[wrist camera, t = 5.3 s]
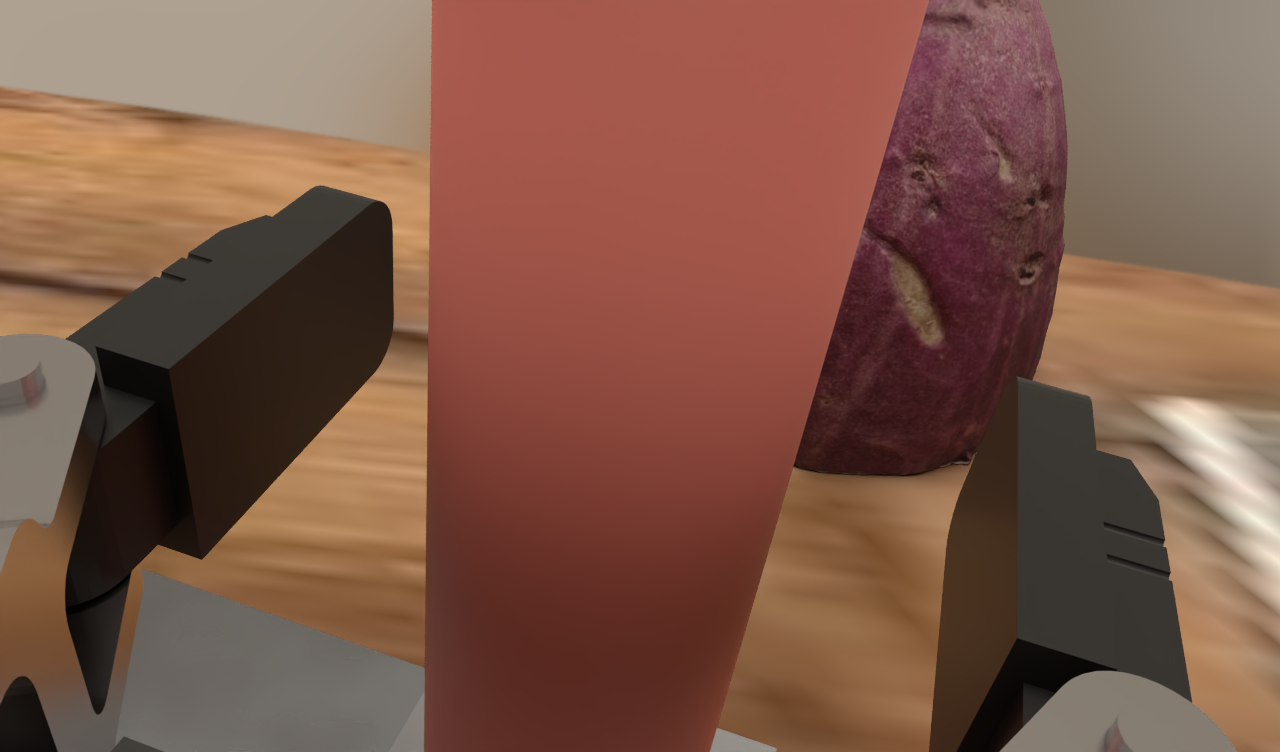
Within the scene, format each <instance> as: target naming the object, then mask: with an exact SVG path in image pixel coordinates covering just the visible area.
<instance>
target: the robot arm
mask: <svg viewBox="0 0 1280 752" xmlns="http://www.w3.org/2000/svg"><path fill="white" fill-rule="evenodd" d="M393 321H394V306H393V231H392V218H391V213H390V210H389V208H388V207H387V205H386V204H385V203H383V202H381V201H377V200H374V199H370V198H366V197H363V196H359V195H355V194H352V193H348V192H344V191H341V190H337V189H333V188H330V187H326V186H316V187H314V188H312V189H310V190H309V191H307V192H306V193H305V194H303V195H302V196H301V197H299V198H298V199H296V200H295V201H294V202H292V203H291V204H290V205H288V206H287V207H285V208H284V209H283V210H281V211H280V212H279V213H277V214H276V215H274V216H273V217H271V216H267V215H265V216H262V217H259V218H256V219H253V220H250V221H247V222H244V223H241V224H238V225H235V226H232V227H230V228H227V229H224V230H221V231H219V232H218V233H217V234H215V235H214V236H212V237H211V238H209V239H208V240H207V241H205V242H204V243H202V244H201V245H199V246H198V247H197V248H195V249H194V250H192V251H191V252H189V255H188V258H187V259H185V258H181V259H179V260H178V261H176V262H175V263H174V264H172V265H171V266H169V267H168V268H166V269H165V270H164V271H162V275H161V277H160V278H158V277H154V278H152V279H151V280H149V281H148V282H146V283H145V284H143V285H142V286H141V287H139V288H138V289H136V290H135V291H133V292H132V293H131V294H129V295H128V296H126V297H125V298H123V299H122V300H121V301H119V302H118V303H116V304H115V305H113V306H112V307H111V308H109V309H108V310H106V311H105V312H103V313H102V314H101V315H99V316H98V317H96V318H95V319H93V320H92V321H90V322H89V323H88V324H86V325H85V326H83V327H82V328H80V329H79V330H78V331H76V332H75V333H73V334H72V335H70V336H69V337H68V338H66V339H63V338H58V337H54V336H48V335H39V334H18V335H7V336H0V752H164V751H161V750H158V749H156V748H153V747H151V746H148V745H145V744H143V743H140V742H137V741H135V740H132V739H130V738H127V737H123V738H122V739H121V740H120V741H119V743H118V744H117V745H116V746H115V743H116V735H117V729H118V724H119V718H120V713H121V707H122V702H123V696H124V691H125V685H126V680H127V674H128V669H129V663H130V658H131V652H132V647H133V641H134V636H135V630H136V625H137V619H138V614H139V608H140V603H141V597H142V592H143V576H142V571H141V567H140V562H141V561H142V560H143V559H144V558H145V557H146V556H147V555H148V554H149V553H150V552H151V551H152V550H153V549H154V548H155V547H156V546H157V545H161V546H164V547H167V548H169V549H172V550H175V551H178V552H181V553H184V554H187V555H190V556H193V557H195V558H198V559H201V560H202V559H203V558H204V557H205V556H206V555H207V554H208V553H209V552H210V550H211V549H212V548H213V547H214V546H215V545H216V544H217V543H218V542H219V541H220V540H221V539H222V537H223V536H224V535H225V534H226V533H227V532H228V531H229V530H230V529H231V528H232V527H233V526H234V524H235V523H236V522H237V521H238V520H239V519H240V518H241V517H242V516H243V515H244V514H245V512H246V511H247V510H248V509H249V508H250V507H251V506H252V505H253V504H254V503H255V502H256V501H257V499H258V498H259V497H260V496H261V495H262V494H263V493H264V492H265V491H266V490H267V489H268V488H269V486H270V485H271V484H272V483H273V482H274V481H275V480H276V479H277V478H278V477H279V476H280V475H281V473H282V472H283V471H284V470H285V469H286V468H287V467H288V466H289V465H290V464H291V463H292V462H293V460H294V459H295V458H296V457H297V456H298V455H299V454H300V453H301V452H302V451H303V450H304V449H305V447H306V446H307V445H308V444H309V443H310V442H311V441H312V440H313V439H314V438H315V437H316V436H317V434H318V433H319V432H320V431H321V430H322V429H323V428H324V427H325V426H326V425H327V424H328V423H329V421H330V420H331V419H332V418H333V417H334V416H335V415H336V414H337V413H338V412H339V411H340V410H341V408H342V407H343V406H344V405H345V404H346V403H347V402H348V401H349V400H350V399H351V398H352V397H353V395H354V394H355V393H356V392H357V391H358V390H359V389H360V388H361V387H362V386H363V385H364V384H365V382H366V381H367V380H368V379H369V378H370V377H371V376H372V375H373V374H374V373H375V371H376V370H377V369H378V367H379V366H380V364H381V362H382V360H383V359H384V356H385V354H386V352H387V349H388V346H389V343H390V340H391V336H392V331H393ZM1164 541H1165V536H1164V530H1163V524H1162V518H1161V512H1160V506H1159V500H1158V499H1157V497H1156V496H1155V494H1154V493H1153V491H1152V490H1151V489H1150V487H1149V486H1148V484H1147V483H1146V481H1145V480H1144V478H1143V477H1142V475H1141V474H1140V473H1139V471H1138V470H1137V468H1136V467H1135V465H1134V464H1133V462H1132V461H1131V460H1130V459H1126V458H1123V457H1119V456H1115V455H1112V454H1108V453H1105V452H1101V451H1098V450H1096V440H1095V430H1094V419H1093V409H1092V402H1091V399H1090V397H1089V396H1086V395H1082V394H1079V393H1075V392H1071V391H1068V390H1064V389H1060V388H1057V387H1053V386H1050V385H1046V384H1042V383H1039V382H1035V381H1031V380H1028V379H1024V378H1020V377H1017V376H1014V377H1012V378H1011V380H1010V381H1009V382H1008V384H1007V386H1006V388H1005V389H1004V391H1003V394H1002V396H1001V398H1000V400H999V403H998V405H997V407H996V410H995V412H994V414H993V417H992V419H991V421H990V424H989V426H988V428H987V431H986V433H985V435H984V438H983V440H982V442H981V445H980V447H979V449H978V452H977V454H976V456H975V459H974V461H973V463H972V466H971V468H970V470H969V473H968V475H967V477H966V480H965V482H964V484H963V487H962V489H961V492H960V495H959V497H958V500H957V503H956V506H955V510H954V513H953V517H952V521H951V525H950V529H949V534H948V540H947V547H946V558H945V570H944V582H943V593H942V605H941V617H940V629H939V640H938V652H937V664H936V676H935V688H934V699H933V711H932V723H931V735H930V746H929V752H1237V751H1236V749H1235V748H1234V746H1233V745H1232V743H1231V741H1230V740H1229V739H1228V738H1227V736H1226V735H1225V734H1224V733H1223V732H1222V730H1221V729H1220V728H1219V727H1218V726H1217V725H1216V724H1215V723H1214V722H1213V721H1212V720H1211V719H1210V718H1209V717H1208V716H1207V715H1206V714H1205V713H1204V712H1202V711H1201V710H1200V709H1199V708H1197V707H1196V706H1195V705H1194V704H1192V699H1191V693H1190V687H1189V681H1188V675H1187V669H1186V663H1185V657H1184V650H1183V644H1182V638H1181V632H1180V626H1179V620H1178V614H1177V608H1176V602H1175V596H1174V590H1173V584H1172V581H1169V575H1170V573H1171V572H1170V566H1169V560H1168V554H1167V548H1166V547H1163V544H1164Z"/></svg>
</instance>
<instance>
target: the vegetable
mask: <svg viewBox="0 0 1280 752" xmlns="http://www.w3.org/2000/svg"><path fill="white" fill-rule="evenodd" d="M1066 175H1067V131H1066V120H1065V110H1064V101H1063V91H1062V82H1061V78H1060V74H1059V71H1058V66H1057V62H1056V57H1055V52H1054V48H1053V43H1052V39H1051V35H1050V30H1049V27H1048V24H1047V22H1046V19H1045V16H1044V14H1043V11H1042V9H1041V6H1040V3H1039V0H929V3H928V6H927V10H926V13H925V17H924V20H923V24H922V27H921V30H920V34H919V37H918V41H917V44H916V48H915V51H914V54H913V58H912V61H911V65H910V68H909V72H908V75H907V78H906V82H905V85H904V89H903V92H902V96H901V99H900V102H899V106H898V109H897V113H896V116H895V120H894V123H893V126H892V130H891V133H890V137H889V140H888V144H887V147H886V150H885V154H884V157H883V161H882V164H881V168H880V171H879V174H878V178H877V181H876V185H875V188H874V191H873V195H872V198H871V202H870V205H869V209H868V212H867V215H866V219H865V222H864V226H863V229H862V233H861V236H860V239H859V243H858V246H857V250H856V253H855V257H854V260H853V263H852V267H851V270H850V274H849V277H848V281H847V284H846V287H845V291H844V294H843V298H842V301H841V305H840V308H839V311H838V315H837V318H836V322H835V325H834V329H833V332H832V335H831V339H830V342H829V346H828V349H827V353H826V356H825V359H824V363H823V366H822V370H821V373H820V376H819V380H818V383H817V387H816V390H815V394H814V397H813V400H812V404H811V407H810V411H809V414H808V418H807V421H806V424H805V428H804V431H803V435H802V438H801V442H800V445H799V448H798V452H797V455H796V459H795V462H794V464H795V465H796V466H798V467H800V468H801V469H802V468H806V469H809V470H814V471H817V472H831V473H833V472H835V473H842V474H859V475H862V474H864V475H866V474H867V475H869V474H876V475H877V474H882V475H885V474H899V475H907V474H916V473H920V472H924V471H930V470H932V469H935V467H943V466H947V465H949V464H951V463H952V462H953V463H954V464H959V463H960V464H965V465H966V464H970V461H971V456H972V455H973V453H974V452H977V451H978V449H979V447H980V445H981V442H982V440H983V438H984V435H985V433H986V431H987V428H988V426H989V424H990V421H991V419H992V417H993V414H994V412H995V410H996V407H997V405H998V403H999V400H1000V398H1001V396H1002V394H1003V391H1004V389H1005V388H1006V386H1007V384H1008V382H1009V381H1010V380H1011V378H1012V377H1014V376H1017V377H1020V378H1024V379H1028V380H1031V381H1032V380H1033V377H1034V374H1035V372H1036V368H1037V365H1038V363H1039V360H1040V358H1041V353H1042V349H1043V345H1044V341H1045V336H1046V332H1047V329H1048V326H1049V323H1050V320H1051V317H1052V313H1053V306H1054V300H1055V294H1056V289H1057V281H1058V273H1059V267H1060V263H1061V259H1062V255H1063V251H1064V246H1065V244H1064V239H1063V227H1064V218H1065V216H1064V198H1065V190H1066Z"/></svg>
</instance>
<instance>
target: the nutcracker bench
mask: <svg viewBox="0 0 1280 752" xmlns="http://www.w3.org/2000/svg"><path fill="white" fill-rule="evenodd" d="M141 571H142V576H143V592H142V597H141V603H140V608H139V614H138V619H137V625H136V630H135V636H134V641H133V647H132V652H131V658H130V663H129V669H128V674H127V680H126V685H125V691H124V696H123V702H122V707H121V713H120V718H119V724H118V729H117V735H116V743H115V746H116V745H117V744H118V743H119V741H120V740H121V739H122V738H123V737H127V738H130V739H132V740H135V741H137V742H140V743H143V744H145V745H148V746H151V747H153V748H156V749H158V750H161V751H164V752H389V751H390V749H391V747H392V746H393V744H394V742H395V740H396V739H397V737H398V735H399V734H400V732H401V730H402V728H403V727H404V725H405V723H406V722H407V720H408V718H409V716H410V715H411V713H412V711H413V710H414V708H415V706H416V705H417V703H418V701H419V699H420V698H421V696H422V694H423V693H424V691H425V668H423V667H421V666H418V665H415V664H412V663H409V662H406V661H403V660H401V659H398V658H395V657H392V656H389V655H386V654H383V653H381V652H378V651H375V650H372V649H369V648H366V647H364V646H361V645H358V644H355V643H352V642H349V641H346V640H344V639H341V638H338V637H335V636H332V635H329V634H326V633H324V632H321V631H318V630H315V629H312V628H309V627H306V626H304V625H301V624H298V623H295V622H292V621H289V620H286V619H284V618H281V617H278V616H275V615H272V614H269V613H267V612H264V611H261V610H258V609H255V608H252V607H249V606H247V605H244V604H241V603H238V602H235V601H232V600H229V599H227V598H224V597H221V596H218V595H215V594H212V593H209V592H207V591H204V590H201V589H198V588H195V587H192V586H190V585H187V584H184V583H181V582H178V581H175V580H172V579H170V578H167V577H164V576H161V575H158V574H155V573H152V572H150V571H147V570H144V569H141Z"/></svg>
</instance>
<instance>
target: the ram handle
mask: <svg viewBox="0 0 1280 752" xmlns="http://www.w3.org/2000/svg"><path fill="white" fill-rule="evenodd" d="M928 3H929V0H432V53H431V54H432V56H431V63H432V64H431V146H430V238H429V330H428V423H427V515H426V607H425V691H424V693H423V694H422V696H421V698H420V699H419V701H418V703H417V705H416V706H415V708H414V710H413V711H412V713H411V715H410V716H409V718H408V720H407V722H406V723H405V725H404V727H403V728H402V730H401V732H400V734H399V735H398V737H397V739H396V740H395V742H394V744H393V746H392V747H391V749H390V751H389V752H776V750H777V748H774V747H771V746H768V745H765V744H762V743H759V742H757V741H754V740H751V739H748V738H745V737H742V736H739V735H736V734H733V733H730V732H727V731H724V730H722V729H719V728H717V726H718V723H719V719H720V716H721V712H722V709H723V705H724V702H725V699H726V695H727V692H728V688H729V685H730V681H731V678H732V675H733V671H734V668H735V664H736V661H737V657H738V654H739V651H740V647H741V644H742V640H743V637H744V633H745V630H746V627H747V623H748V620H749V616H750V613H751V609H752V606H753V603H754V599H755V596H756V592H757V589H758V585H759V582H760V579H761V575H762V572H763V568H764V565H765V562H766V558H767V555H768V551H769V548H770V544H771V541H772V538H773V534H774V531H775V527H776V524H777V520H778V517H779V514H780V510H781V507H782V503H783V500H784V496H785V493H786V490H787V486H788V483H789V479H790V476H791V472H792V469H793V466H794V462H795V459H796V455H797V452H798V448H799V445H800V442H801V438H802V435H803V431H804V428H805V424H806V421H807V418H808V414H809V411H810V407H811V404H812V400H813V397H814V394H815V390H816V387H817V383H818V380H819V376H820V373H821V370H822V366H823V363H824V359H825V356H826V353H827V349H828V346H829V342H830V339H831V335H832V332H833V329H834V325H835V322H836V318H837V315H838V311H839V308H840V305H841V301H842V298H843V294H844V291H845V287H846V284H847V281H848V277H849V274H850V270H851V267H852V263H853V260H854V257H855V253H856V250H857V246H858V243H859V239H860V236H861V233H862V229H863V226H864V222H865V219H866V215H867V212H868V209H869V205H870V202H871V198H872V195H873V191H874V188H875V185H876V181H877V178H878V174H879V171H880V168H881V164H882V161H883V157H884V154H885V150H886V147H887V144H888V140H889V137H890V133H891V130H892V126H893V123H894V120H895V116H896V113H897V109H898V106H899V102H900V99H901V96H902V92H903V89H904V85H905V82H906V78H907V75H908V72H909V68H910V65H911V61H912V58H913V54H914V51H915V48H916V44H917V41H918V37H919V34H920V30H921V27H922V24H923V20H924V17H925V13H926V10H927V6H928Z"/></svg>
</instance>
